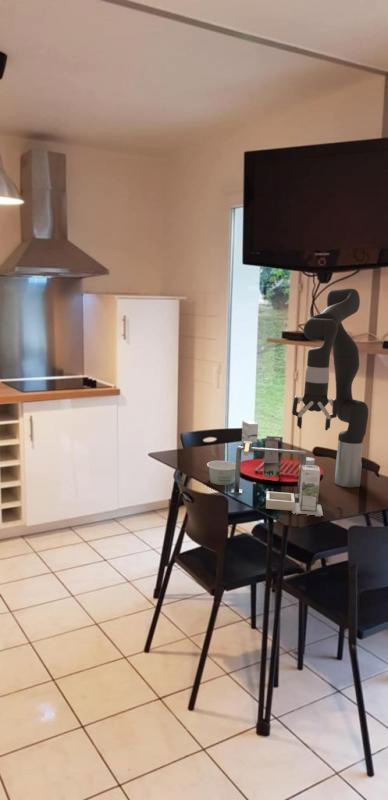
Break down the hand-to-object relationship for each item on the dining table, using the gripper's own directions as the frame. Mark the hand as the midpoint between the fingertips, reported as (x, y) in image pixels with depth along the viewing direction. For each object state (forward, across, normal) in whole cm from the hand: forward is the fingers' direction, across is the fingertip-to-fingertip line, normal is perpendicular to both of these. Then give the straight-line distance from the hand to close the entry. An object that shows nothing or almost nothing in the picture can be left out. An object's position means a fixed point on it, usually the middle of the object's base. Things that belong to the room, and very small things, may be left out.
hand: (313, 429), depth 202 cm
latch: (+11, +21, -7) cm, 25 cm away
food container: (+28, +31, -25) cm, 49 cm away
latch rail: (+28, +13, -13) cm, 34 cm away
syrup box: (+28, 0, 0) cm, 28 cm away
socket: (+28, +9, -3) cm, 30 cm away
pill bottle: (+28, -1, -24) cm, 37 cm away
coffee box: (+28, +12, -34) cm, 46 cm away
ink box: (+28, +23, -84) cm, 92 cm away
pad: (+28, 0, 0) cm, 28 cm away
